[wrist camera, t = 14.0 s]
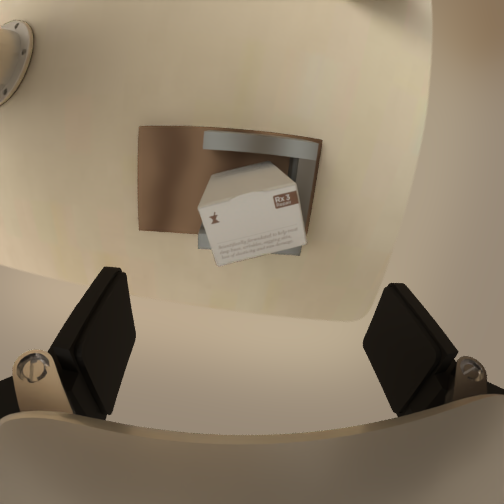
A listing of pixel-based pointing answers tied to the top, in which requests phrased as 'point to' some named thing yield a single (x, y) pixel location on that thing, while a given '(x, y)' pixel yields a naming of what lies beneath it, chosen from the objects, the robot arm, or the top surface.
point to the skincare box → (251, 213)
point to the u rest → (212, 171)
